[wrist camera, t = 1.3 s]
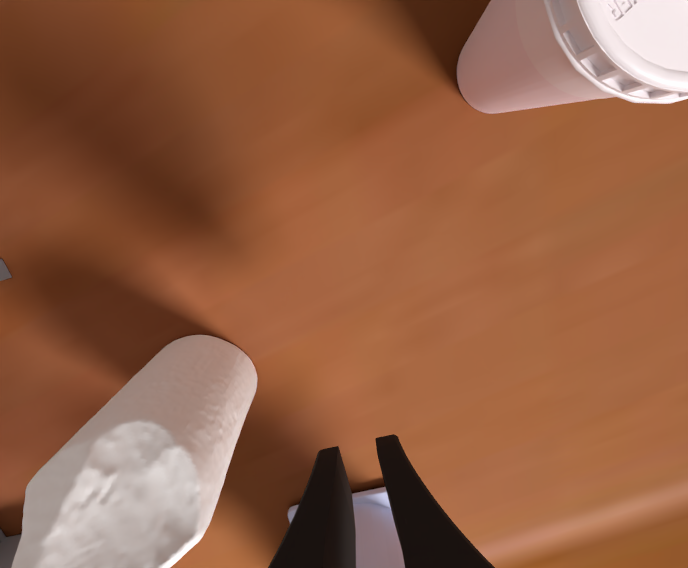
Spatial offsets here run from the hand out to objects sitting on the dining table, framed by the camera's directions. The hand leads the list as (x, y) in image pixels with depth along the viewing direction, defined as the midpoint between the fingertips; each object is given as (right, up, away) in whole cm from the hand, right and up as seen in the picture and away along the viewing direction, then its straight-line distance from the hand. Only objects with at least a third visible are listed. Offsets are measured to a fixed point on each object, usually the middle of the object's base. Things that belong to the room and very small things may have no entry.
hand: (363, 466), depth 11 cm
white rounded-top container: (-9, +1, +9) cm, 12 cm away
